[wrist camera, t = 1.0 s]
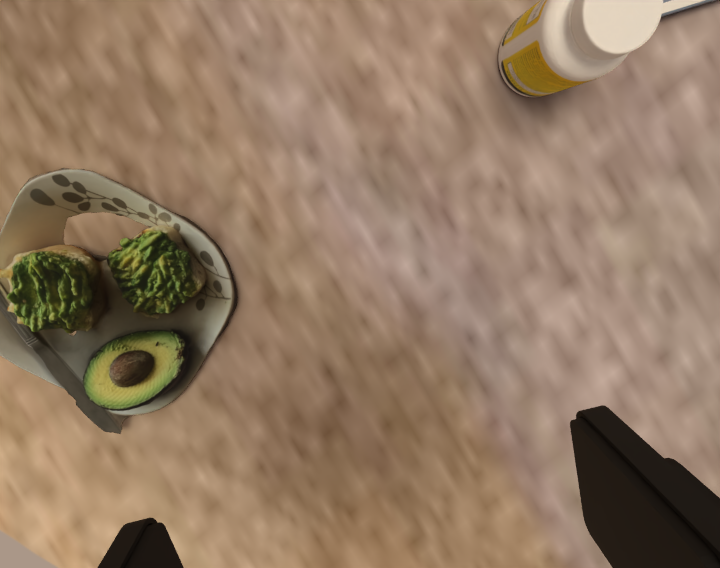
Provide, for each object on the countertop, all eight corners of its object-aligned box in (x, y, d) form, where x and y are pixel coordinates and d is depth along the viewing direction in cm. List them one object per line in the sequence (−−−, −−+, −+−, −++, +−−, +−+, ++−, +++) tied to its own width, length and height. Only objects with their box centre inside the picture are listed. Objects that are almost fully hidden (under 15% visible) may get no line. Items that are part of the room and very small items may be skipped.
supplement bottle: (568, 99, 32) (666, 72, 22) (492, 97, 32) (560, 69, 22) (579, 12, 30) (688, -55, 21) (500, 10, 30) (574, -60, 21)
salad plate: (-80, 318, 34) (-143, 341, 30) (19, 109, 31) (-35, 100, 26) (154, 439, 38) (130, 476, 33) (267, 263, 34) (256, 279, 30)
